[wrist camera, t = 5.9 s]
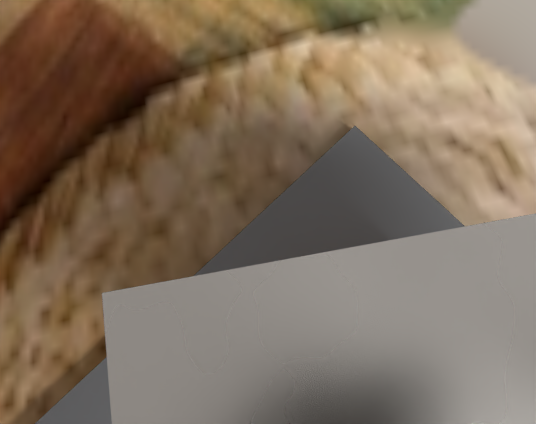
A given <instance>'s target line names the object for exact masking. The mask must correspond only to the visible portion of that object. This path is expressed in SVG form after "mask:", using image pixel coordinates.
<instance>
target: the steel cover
mask: <svg viewBox="0 0 536 424" xmlns="http://www.w3.org/2000/svg"><path fill="white" fill-rule="evenodd" d="M102 300H103V314H104V327H105V340H106V353H107V367H108V380H109V393H110V406H111V420H112V424H536V214H530V215H525V216H520V217H514V218H509V219H503V220H498V221H492V222H487V223H481V224H476V225H470V226H465V227H459V228H454V229H449V230H443V231H438V232H432V233H427V234H421V235H416V236H410V237H405V238H399V239H394V240H388V241H383V242H378V243H372V244H367V245H361V246H356V247H350V248H345V249H339V250H334V251H328V252H323V253H318V254H312V255H307V256H301V257H296V258H290V259H285V260H279V261H274V262H268V263H263V264H257V265H252V266H247V267H241V268H236V269H230V270H225V271H219V272H214V273H208V274H203V275H197V276H192V277H186V278H181V279H176V280H170V281H165V282H159V283H154V284H148V285H143V286H137V287H132V288H126V289H121V290H115V291H110V292H105V293H102Z"/></svg>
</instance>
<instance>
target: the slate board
mask: <svg viewBox="0 0 536 424" xmlns="http://www.w3.org/2000/svg"><path fill="white" fill-rule="evenodd" d="M459 227H465V226H464V225H463V224H462V223H461V222H460V221H458V220H457V219H456V218H455V217H454V216H453V215H452V214H451V213H450V212H449V211H448V210H446V209H445V208H444V207H443V206H442V205H441V204H440V203H439V202H438V201H437V200H436V199H434V198H433V197H432V196H431V195H430V194H429V193H428V192H427V191H426V190H425V189H424V188H422V187H421V186H420V185H419V184H418V183H417V182H416V181H415V180H414V179H413V178H412V177H410V176H409V175H408V174H407V173H406V172H405V171H404V170H403V169H402V168H401V167H400V166H398V165H397V164H396V163H395V162H394V161H393V160H392V159H391V158H390V157H389V156H388V155H386V154H385V153H384V152H383V151H382V150H381V149H380V148H379V147H378V146H377V145H376V144H374V143H373V142H372V141H371V140H370V139H369V138H368V137H367V136H366V135H365V134H364V133H362V132H361V131H360V130H359V129H358V128H357V127H356V126H354V127H353V128H352V129H351V130H350V131H349V132H348V133H347V134H345V135H344V136H343V137H342V138H341V139H340V140H339V141H338V142H337V143H336V144H335V145H334V146H333V147H331V148H330V149H329V150H328V151H327V152H326V153H325V154H324V155H323V156H322V157H321V158H320V159H319V160H318V161H316V162H315V163H314V164H313V165H312V166H311V167H310V168H309V169H308V170H307V171H306V172H305V173H304V174H302V175H301V176H300V177H299V178H298V179H297V180H296V181H295V182H294V183H293V184H292V185H291V186H290V187H289V188H287V189H286V190H285V191H284V192H283V193H282V194H281V195H280V196H279V197H278V198H277V199H276V200H275V201H273V202H272V203H271V204H270V205H269V206H268V207H267V208H266V209H265V210H264V211H263V212H262V213H261V214H260V215H258V216H257V217H256V218H255V219H254V220H253V221H252V222H251V223H250V224H249V225H248V226H247V227H246V228H244V229H243V230H242V231H241V232H240V233H239V234H238V235H237V236H236V237H235V238H234V239H233V240H232V241H231V242H229V243H228V244H227V245H226V246H225V247H224V248H223V249H222V250H221V251H220V252H219V253H218V254H217V255H215V256H214V257H213V258H212V259H211V260H210V261H209V262H208V263H207V264H206V265H205V266H204V267H203V268H202V269H200V270H199V271H198V272H197V273H196V274H195V275H194V276H197V275H203V274H208V273H214V272H219V271H225V270H230V269H236V268H241V267H247V266H252V265H257V264H263V263H268V262H274V261H279V260H285V259H290V258H296V257H301V256H307V255H312V254H318V253H323V252H328V251H334V250H339V249H345V248H350V247H356V246H361V245H367V244H372V243H378V242H383V241H388V240H394V239H399V238H405V237H410V236H416V235H421V234H427V233H432V232H438V231H443V230H449V229H454V228H459ZM35 424H112V420H111V406H110V393H109V380H108V367H107V357H106V358H105V359H104V360H103V361H102V362H101V363H100V364H98V365H97V366H96V367H95V368H94V369H93V370H92V371H91V372H90V373H89V374H88V375H87V376H86V377H84V378H83V379H82V380H81V381H80V382H79V383H78V384H77V385H76V386H75V387H74V388H73V389H72V390H71V391H69V392H68V393H67V394H66V395H65V396H64V397H63V398H62V399H61V400H60V401H59V402H58V403H57V404H55V405H54V406H53V407H52V408H51V409H50V410H49V411H48V412H47V413H46V414H45V415H44V416H43V417H42V418H40V419H39V420H38V421H37V422H36V423H35Z"/></svg>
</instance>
